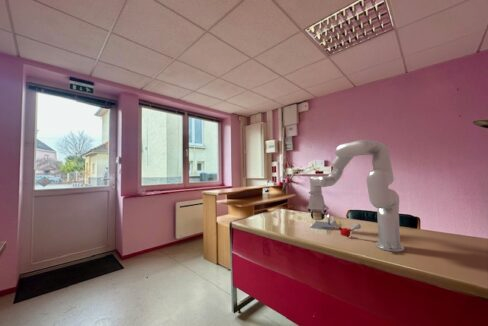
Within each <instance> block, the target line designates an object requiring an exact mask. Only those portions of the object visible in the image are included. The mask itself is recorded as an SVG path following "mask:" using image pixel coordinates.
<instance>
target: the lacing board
mask: <svg viewBox="0 0 488 326" xmlns="http://www.w3.org/2000/svg"><path fill="white" fill-rule="evenodd" d="M336 224H338V223H337V222H336ZM335 228H336V226H333V225H329V224H328V221H322V220H315V222H314V223H313V224H312V225H311V226H310V227H309V229H316V230H324V231H332V232H333V231H334V229H335Z"/></svg>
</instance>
